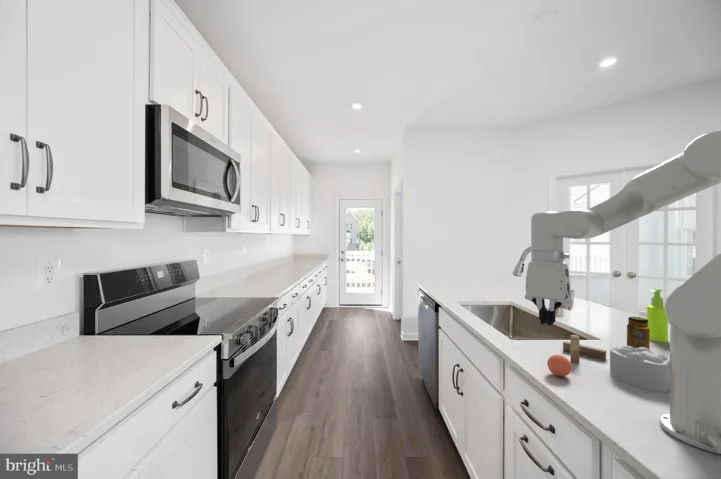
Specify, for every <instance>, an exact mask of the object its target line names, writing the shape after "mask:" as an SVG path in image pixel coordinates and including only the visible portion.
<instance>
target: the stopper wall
mask: <svg viewBox="0 0 721 479" xmlns="http://www.w3.org/2000/svg"><path fill="white" fill-rule="evenodd" d="M562 351H563V352H567V353H570V354H571V341H570V342H569V341H563V342H562ZM579 356H583V357H587V358H592V359H594V360H595V359H596V360H600V361H606V360H607V350H606V349H603V348H597V347H592V346H587V345H583V344H580V343H579Z"/></svg>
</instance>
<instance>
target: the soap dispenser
mask: <svg viewBox="0 0 721 479" xmlns="http://www.w3.org/2000/svg"><path fill="white" fill-rule="evenodd" d="M648 292H650V293H653V296H651V300H650V301H651V302H650V304H651V305H650V304H649V305H647V306H646V319H647V320H648V327H649V329H650V332H649V333H650V334H649V337H650V339H649V340H650V341H651V342H657V343H667V342H669V341H668V339H669V335H668V333H669V323H668V322H669V320H668V318H667V316H666V314H665V305H664V298H663V297H661V292H663V290H662V289H657V288H653V289H650V290H648Z"/></svg>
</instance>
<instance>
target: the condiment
mask: <svg viewBox="0 0 721 479" xmlns="http://www.w3.org/2000/svg"><path fill="white" fill-rule="evenodd" d="M627 319H628V321H627V322H628V323H627V324H626V346H631V347H633V348H634V349H636V348H639V347H645V348H648V349H649V350H650V343H651V342H650V341H651V340H649V339H650V337H649V334H650V333H649V332H650V329H649V327H648V320H647V318H645V317H641V316H629V317H628V318H627Z"/></svg>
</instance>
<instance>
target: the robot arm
mask: <svg viewBox="0 0 721 479" xmlns="http://www.w3.org/2000/svg"><path fill="white" fill-rule="evenodd" d="M719 184H721V130H716V131H715V130H714V131H711V132H708V133H705V134H703V135H702V134H701V135H700V136H698V137H696V138H695V139H693V140H692V141H691V142H689V143H688V144H687V146H686V147H685V149H684V150H683V152H682V153H680V154H678V155H676V156H674V157H672V158H670V159H668V160H666V161H664V162H662V163H660V164H659V165H657V166H655V167H652V168H651V169H647V170H646V171H644V172H641V173H640V174H638V175H636V176H635V177H633V178H631V179H630V180H629V181H628V182H627V183H626V184H625V186H624V187H623V188H622V189H621V190H619V191H618V192H617V193H616V194H615V195H613V196H611V197H609V198H608V199H606V200H604V201H603V202H600V203H599V204H596V205H594V206H592V207H590V208H588V209H583V208H581V209H580V208H576V209H575V208H573V209H568V210H567V209H566V210H562V211H544V212H536V213H535V212H534V214H533V215H532V216H531V218H530V222H531V224H530V228H531V229H530V234H531V235H530V240H531V241H530V244H531V245H530V246H531V248H530V249H531V251H530V252H531V253H530V254H531V257H530V258H531V260H530V261H528V264H527V269H526V276H525V295H524V299H525V300H527V301H530V302H532V303H533V304H534V305H535V306H536V308H537V309H538V320H539V321H540V325H545V324H546V326H552V325H554V323H556V310H557V309H559V308H560V307H563V306H569V305H571V304H573V302H572V300H571V295H572V294H571V293H572V290H571V279H570V271H569V266H568V263H567V262H564V261H565V260H566V259H567V260H569V259H570V253H565V251H564V238H566V239H572V240H581V239H593V238H596V237H598V236H601V235H604V234H606V233H608V232H611V231H613V230H615V229H617V228H620V227H622V226H625V225H626V224H629V223H631V222H632V221H635V220H638V219H639V218H642V217H645V216H647V215H650V214H651V213H653V212H655V211H658V210H660V209H663V208H664V207H666V206H669V205H671V204H674V203H676V202H678V201H681V200H683V199H686V198H687V197H690V196H692V195H694V194H697V193H699V192H702V191H704V190H707V189H709V188H711V187H714V186H716V185H719ZM546 300H549V304H548V308H547V307H546ZM664 307H665V314H666V316H667V318H668V322H669V323H670V329H669V330H670V331H669V358H670V388H669V413H665V414H661V416H660V417H659V425H660V426H661V427H662V429H663V430H664V431H665V432H667V433H668V434H669V435H671V436H672V437H674V438H676V439H677V440H679V441H681V442H683V443H685V444H688V445H690V446H693V447H695V448H698V449H701V450H704V451H707V452H709V453H714V454H718V455H721V251H719V252H718V253H717V254H716V255H715V256H714V257H713V258H711V259H710V260H709V261H708V262H706V264H704V265H703V266H702V267H701V268H700V269H699V270H698V271H696V272H695V273H694V274H692V275H691V276H690V277H689V278H688V279H687V280H686V281H685V282H683V283H682V284H680V285H679V286H677V287H676V288H675V289H674V290H673V291H671V293H670V294H669V295H668V296H667V298H666V300H665V303H664Z"/></svg>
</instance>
